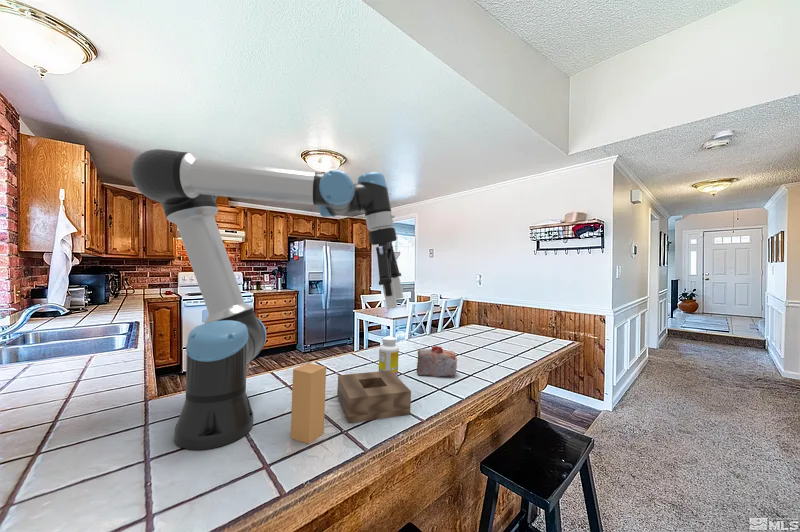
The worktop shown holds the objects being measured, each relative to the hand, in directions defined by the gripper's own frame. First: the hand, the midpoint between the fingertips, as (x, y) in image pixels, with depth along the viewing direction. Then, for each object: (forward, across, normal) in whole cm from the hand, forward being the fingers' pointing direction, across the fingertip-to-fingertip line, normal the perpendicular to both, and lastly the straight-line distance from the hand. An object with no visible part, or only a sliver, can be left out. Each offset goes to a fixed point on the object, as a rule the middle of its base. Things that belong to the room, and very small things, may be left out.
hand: (395, 302), depth 91 cm
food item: (+31, +21, -6) cm, 38 cm away
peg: (+22, -24, +21) cm, 39 cm away
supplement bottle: (+27, +16, +10) cm, 33 cm away
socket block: (+25, -7, +11) cm, 28 cm away
